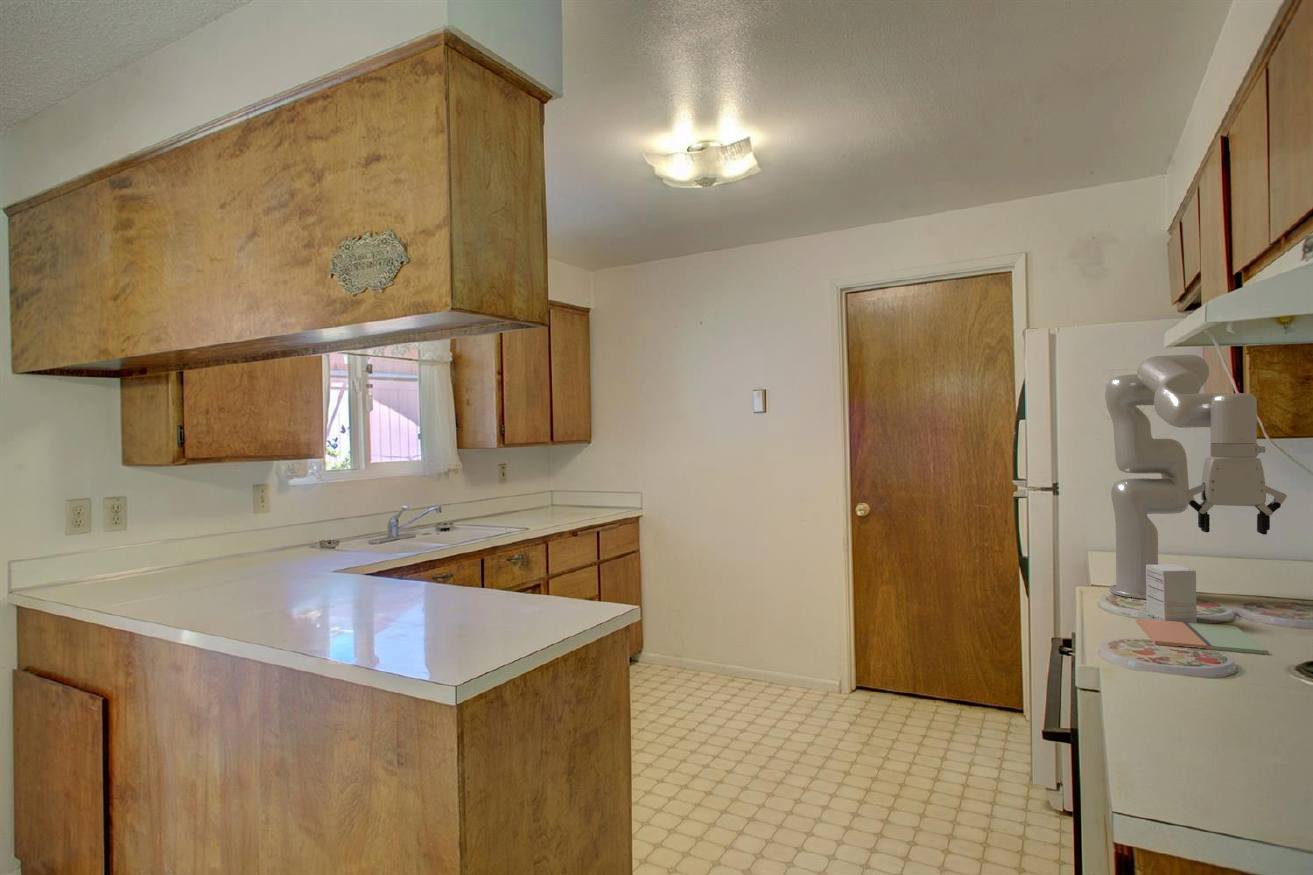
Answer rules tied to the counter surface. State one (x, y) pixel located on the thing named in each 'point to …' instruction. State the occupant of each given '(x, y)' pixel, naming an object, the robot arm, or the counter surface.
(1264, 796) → the counter surface
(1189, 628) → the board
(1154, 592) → the supplement box
